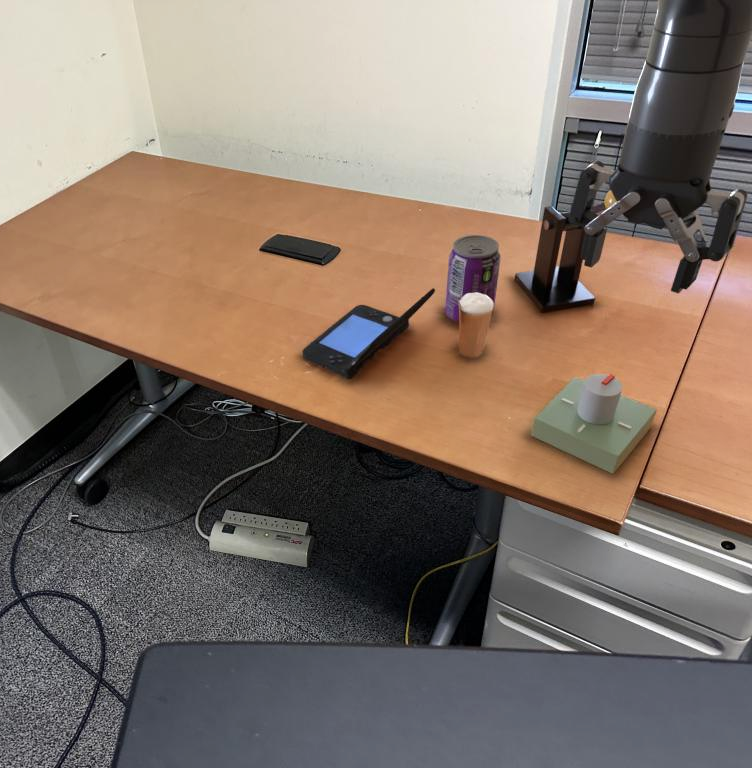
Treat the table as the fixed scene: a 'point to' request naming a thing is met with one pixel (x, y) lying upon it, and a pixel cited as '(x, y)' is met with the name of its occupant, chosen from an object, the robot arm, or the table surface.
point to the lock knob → (599, 398)
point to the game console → (358, 338)
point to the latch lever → (596, 209)
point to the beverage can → (471, 271)
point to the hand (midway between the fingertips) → (633, 276)
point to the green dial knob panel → (592, 428)
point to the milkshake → (474, 323)
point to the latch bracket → (556, 268)
